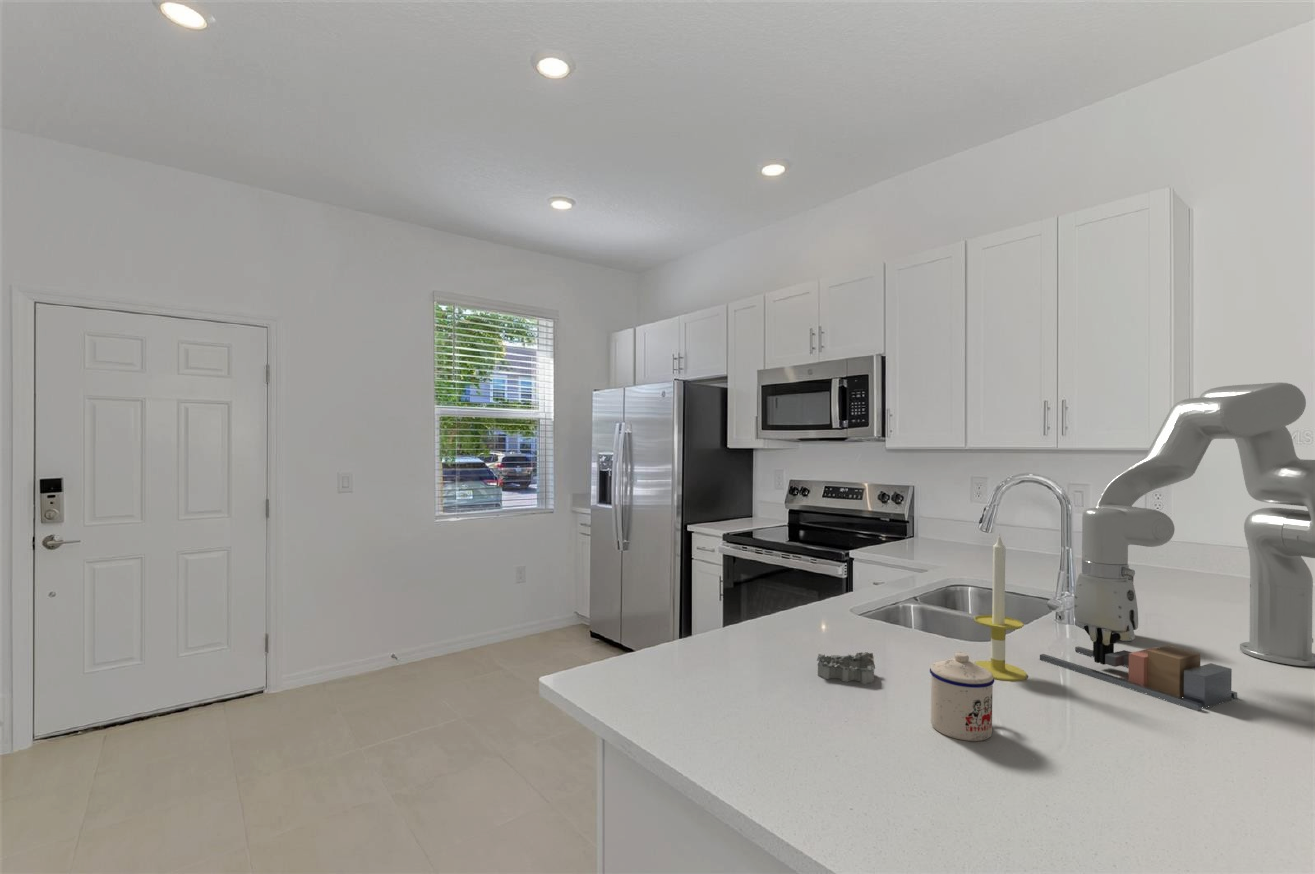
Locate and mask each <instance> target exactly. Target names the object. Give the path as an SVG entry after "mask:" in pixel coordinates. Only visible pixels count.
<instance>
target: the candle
mask: <svg viewBox="0 0 1315 874" xmlns="http://www.w3.org/2000/svg"><path fill="white" fill-rule="evenodd" d="M1005 598H1006V545H1004V544H1003V540H1002V537H1001V533H999V534H998V536H997V540H996V543H995V544H994V545H992V603H991V604H992V609H991V610H992V613H991V614H980V615H976V616H974V618H973V620H974V621H975V623H977V624H978V625H982V626H985V627H989V628H990V660H977V661H973V662H974V663H975V664H977V665H978V666H981V667H983V668H985V669H987V670H988V671H990V672H991V673H992V675H993V678H994V680H998V681H1006V682H1021V681H1023V680H1026V679H1027V677H1028V674H1027V672H1026V671H1025V670H1024V669H1022V668H1019V667H1018V666H1015V665H1012V664H1010V663H1006V630H1019V629H1022V628H1023V627H1024V623H1023V622H1022V621H1020V620H1018V619H1016V618H1015V619H1014V618H1011V617H1007V616H1005V615H1006V614H1005V613H1006V611H1005V610H1006V607H1005V606H1006V603H1005V602H1006V599H1005Z"/></svg>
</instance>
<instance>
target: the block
mask: <svg viewBox="0 0 1315 874" xmlns="http://www.w3.org/2000/svg"><path fill="white" fill-rule="evenodd" d="M1201 657H1202V656H1201V653H1199V652H1195V651H1191V650H1187V649H1183V648H1180V647H1175V646H1172V645H1165V646H1161V647H1157V648H1156V649H1152V650H1148V663H1147V687H1150V688H1153V689H1156V690H1159V691H1163V692H1166V693H1169V694H1172V695H1175V696H1178V697H1184V670H1188V669H1192V668H1195V667H1199V666H1201Z"/></svg>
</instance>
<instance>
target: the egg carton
mask: <svg viewBox="0 0 1315 874" xmlns="http://www.w3.org/2000/svg"><path fill="white" fill-rule="evenodd" d="M816 661H818V663H817V676H819V677H821V678H822V679H825V680H830V679H839V680H841V681H842V682H846V683H847V682H850V681H858V682H860V683H861V684H864V685H867V684H869V683H874V681H875V670H876V665H875V662H874V654H873V653H872V652H866V651H865V652H856V654H855V655H852V654H847V655H838V654H834V655H825V654H821V653H818V655H817V659H816Z"/></svg>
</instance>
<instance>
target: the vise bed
mask: <svg viewBox="0 0 1315 874" xmlns="http://www.w3.org/2000/svg"><path fill="white" fill-rule="evenodd" d="M1074 649H1075V651H1077V652H1076V653H1078V652H1080V653H1079V654H1081V653H1083V654H1082V655H1085V656H1088V657H1091V656H1093V649H1090V648H1086V647H1082V646H1080V645H1079V646H1075V647H1074ZM1092 658H1094V656H1093V657H1092ZM1039 660H1041V661H1043V660H1044V662H1046V661H1047V662H1046V663H1049V662H1050V663H1049V664H1053V665H1055V666H1058V665H1060V667H1061V666H1062V668H1064V667H1065V668H1064V669H1068V670H1071V671H1074V670H1075V672H1077V673H1080V674H1082V675H1083V674H1084V675H1086V674H1088V675H1087V676H1089V675H1090V676H1089V677H1093V678H1094V679H1095V678H1096V679H1099V680H1101V679H1102V681H1104V682H1105V681H1106V682H1108V683H1111V684H1114V683H1115V684H1114V685H1117V684H1118V685H1117V686H1120V685H1121V686H1120V687H1123V686H1124V687H1123V688H1126V689H1129V688H1131V689H1130V690H1132V689H1134V690H1133V691H1135V690H1137V691H1136V692H1138V691H1140V692H1139V693H1141V692H1143V693H1142V694H1144V693H1147V694H1150V695H1152V696H1151V697H1153V696H1155V697H1154V698H1156V697H1160V698H1162V699H1161V700H1163V699H1165V700H1164V701H1166V700H1167V701H1166V702H1169V703H1172V702H1174V703H1173V704H1175V703H1176V705H1178V704H1180V705H1179V706H1181V705H1182V707H1184V706H1186V707H1185V708H1187V707H1189V708H1188V709H1190V708H1191V710H1193V709H1194V710H1193V711H1196V712H1200V711H1202V710H1203V708H1206V707H1208V706H1212V707H1214V706H1213V705H1215V706H1217V705H1216V704H1218V705H1220V704H1219V703H1221V704H1223V703H1222V702H1224V703H1226V701H1227V702H1229V700H1230V701H1232V700H1236V699H1238V692H1236V691H1235V690H1234V691H1233V690H1232V681H1233V680H1232V677H1233V676H1232V672H1233V671H1232V670H1233V669H1232V668H1231V667H1227V666H1223V665H1219V664H1215V663H1211V662H1210V663H1207V664H1204V665H1200V666H1199V667H1195V668H1192V669H1188V670H1184V698H1182V697H1178V696H1175V695H1172V694H1169V693H1166V692H1163V691H1159V690H1156V689H1153V688H1150V687H1147V686H1144V685H1140V684H1137V683H1134V682H1131V681H1129V679H1128V680H1127V679H1124V678H1121V677H1117V676H1115V675H1111V674H1110V673H1109V674H1108V673H1105V672H1101V671H1099V670H1097V669H1093V668H1090V667H1086V666H1083V665H1080V664H1077V663H1073V662H1071V661H1067V660H1065V659H1061V658H1057V657H1056V656H1052V655H1048V654H1046V653H1041V654H1039ZM1125 666H1126V667H1125ZM1123 667H1125V668H1128V667H1129V666H1128V665H1124V666H1123ZM1147 694H1146V695H1147ZM1150 695H1149V696H1150ZM1160 698H1159V699H1160ZM1232 698H1233V699H1232ZM1235 698H1236V699H1235ZM1202 707H1203V708H1202ZM1206 709H1207V708H1206ZM1199 710H1200V711H1199Z"/></svg>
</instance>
